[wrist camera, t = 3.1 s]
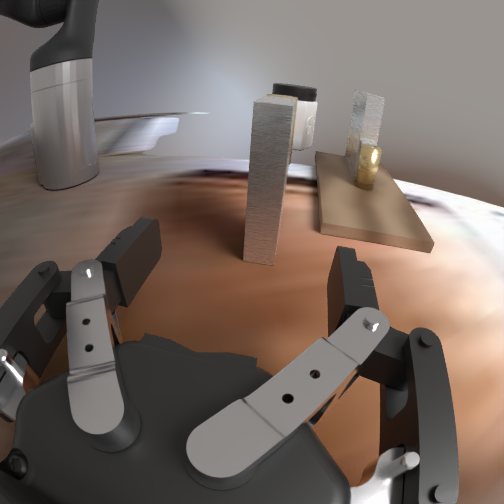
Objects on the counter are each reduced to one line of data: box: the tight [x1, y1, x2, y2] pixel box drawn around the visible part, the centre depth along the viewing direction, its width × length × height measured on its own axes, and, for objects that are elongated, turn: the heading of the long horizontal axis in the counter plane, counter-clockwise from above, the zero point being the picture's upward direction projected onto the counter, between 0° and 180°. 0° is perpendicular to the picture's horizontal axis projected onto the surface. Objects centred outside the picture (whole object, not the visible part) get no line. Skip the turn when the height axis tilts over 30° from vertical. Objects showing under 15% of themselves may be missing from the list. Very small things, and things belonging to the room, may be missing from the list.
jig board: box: [315, 151, 434, 253], centre depth 37 cm, size 12×26×1 cm, turn 170°
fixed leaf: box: [344, 90, 385, 191], centre depth 37 cm, size 3×14×12 cm, turn 170°
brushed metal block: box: [243, 94, 298, 266], centre depth 23 cm, size 8×3×12 cm, turn 170°
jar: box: [272, 83, 317, 151], centre depth 51 cm, size 9×8×12 cm
